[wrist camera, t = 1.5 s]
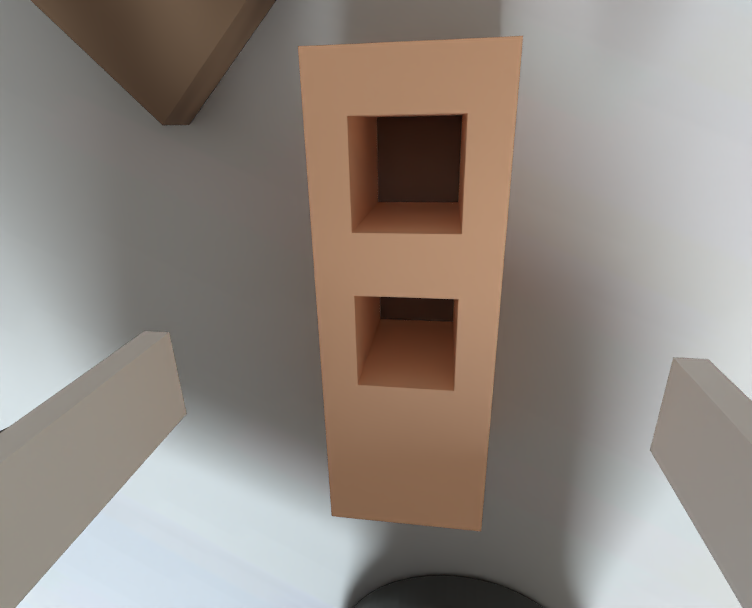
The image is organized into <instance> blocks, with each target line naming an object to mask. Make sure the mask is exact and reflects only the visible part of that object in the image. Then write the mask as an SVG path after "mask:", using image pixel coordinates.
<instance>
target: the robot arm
mask: <svg viewBox="0 0 752 608" xmlns="http://www.w3.org/2000/svg"><path fill="white" fill-rule="evenodd" d="M186 414H187V413H186V408H185V404H184V399H183V394H182V390H181V385H180V380H179V376H178V371H177V366H176V361H175V357H174V352H173V347H172V343H171V338H170V333H169V332H155V331H144V332H142V333H141V334H139V335H138V336H137V337H135V338H134V339H132V340H131V341H130V342H128V343H127V344H125V345H124V346H123V347H121V348H120V349H118V350H117V351H115V352H114V353H113V354H111V355H110V356H108V357H107V358H106V359H104V360H103V361H101V362H100V363H99V364H97V365H96V366H94V367H93V368H91V369H90V370H89V371H87V372H86V373H84V374H83V375H82V376H80V377H79V378H77V379H76V380H75V381H73V382H72V383H70V384H69V385H67V386H66V387H65V388H63V389H62V390H60V391H59V392H58V393H56V394H55V395H53V396H52V397H50V398H49V399H48V400H46V401H45V402H43V403H42V404H41V405H39V406H38V407H36V408H35V409H34V410H32V411H31V412H29V413H28V414H26V415H25V416H24V417H22V418H21V419H19V420H18V421H17V422H15V423H14V424H12V425H11V426H10V427H7V428H5V429H3V430H1V431H0V608H15V607H16V606H17V605H18V604H19V603H20V602H21V601H22V600H23V598H24V597H25V596H26V595H27V594H28V593H29V592H30V590H31V589H32V588H33V587H34V586H35V585H36V584H37V583H38V581H39V580H40V579H41V578H42V577H43V576H44V575H45V574H46V572H47V571H48V570H49V569H50V568H51V567H52V566H53V564H54V563H55V562H56V561H57V560H58V559H59V558H60V557H61V555H62V554H63V553H64V552H65V551H66V550H67V549H68V547H69V546H70V545H71V544H72V543H73V542H74V541H75V540H76V538H77V537H78V536H79V535H80V534H81V533H82V532H83V531H84V529H85V528H86V527H87V526H88V525H89V524H90V523H91V521H92V520H93V519H94V518H95V517H96V516H97V515H98V514H99V512H100V511H101V510H102V509H103V508H104V507H105V506H106V504H107V503H108V502H109V501H110V500H111V499H112V498H113V497H114V495H115V494H116V493H117V492H118V491H119V490H120V489H121V488H122V486H123V485H124V484H125V483H126V482H127V481H128V480H129V478H130V477H131V476H132V475H133V474H134V473H135V472H136V471H137V469H138V468H139V467H140V466H141V465H142V464H143V463H144V461H145V460H146V459H147V458H148V457H149V456H150V455H151V454H152V452H153V451H154V450H155V449H156V448H157V447H158V446H159V445H160V443H161V442H162V441H163V440H164V439H165V438H166V437H167V435H168V434H169V433H170V432H171V431H172V430H173V429H174V428H175V426H176V425H177V424H178V423H179V422H180V421H181V420H182V418H183V417H184V416H185V415H186ZM650 451H651V452H652V454H653V456H654V458H655V459H656V461H657V463H658V464H659V466H660V468H661V470H662V471H663V473H664V475H665V476H666V478H667V480H668V481H669V483H670V485H671V487H672V488H673V490H674V492H675V493H676V495H677V497H678V499H679V500H680V502H681V504H682V505H683V507H684V509H685V510H686V512H687V514H688V516H689V517H690V519H691V521H692V522H693V524H694V526H695V527H696V529H697V531H698V533H699V534H700V536H701V538H702V539H703V541H704V543H705V545H706V546H707V548H708V550H709V551H710V553H711V555H712V556H713V558H714V560H715V562H716V563H717V565H718V567H719V568H720V570H721V572H722V574H723V575H724V577H725V579H726V580H727V582H728V584H729V585H730V587H731V589H732V591H733V592H734V594H735V596H736V597H737V599H738V601H739V602H740V604H741V606H742V608H752V401H751V400H750V399H749V398H748V397H747V396H746V395H745V394H744V393H743V392H742V391H741V390H740V389H739V388H738V387H737V386H736V385H735V384H734V383H732V382H731V381H730V380H729V379H728V378H727V377H726V376H725V375H724V374H723V373H722V372H721V371H720V370H719V369H718V368H717V367H716V366H715V365H714V364H713V363H712V362H711V361H710V360H709V359H694V358H674V357H673V361H672V365H671V369H670V373H669V377H668V381H667V385H666V389H665V393H664V397H663V400H662V404H661V408H660V412H659V416H658V420H657V424H656V428H655V432H654V436H653V440H652V444H651V448H650ZM354 608H542V607H541V606H540V605H538V604H537V603H535V602H534V601H532V600H530V599H529V598H527V597H525V596H523V595H521V594H519V593H517V592H515V591H512V590H510V589H507V588H505V587H502V586H499V585H496V584H493V583H489V582H486V581H481V580H477V579H471V578H465V577H457V576H424V577H416V578H409V579H405V580H401V581H397V582H394V583H391V584H388V585H385V586H383V587H381V588H379V589H377V590H375V591H373V592H372V593H370V594H368V595H367V596H366V597H364V598H363V599H362V600H361V601H359V602H358V603H357V604H356V605H355V607H354Z"/></svg>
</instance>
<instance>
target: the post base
mask: <svg viewBox="0 0 752 608" xmlns="http://www.w3.org/2000/svg"><path fill="white" fill-rule="evenodd" d="M31 1H32V2H33V3H34V4H35V5H36V6H37V7H38V8H39V9H40V10H41V11H42V12H43V13H45V14H46V15H47V16H48V17H49V18H50V19H51V20H52V21H53V22H54V23H55V24H56V25H57V26H58V27H59V28H60V29H61V30H63V31H64V32H65V33H66V34H67V35H68V36H69V37H70V38H71V39H72V40H73V41H74V42H75V43H76V44H77V45H78V46H79V47H80V48H82V49H83V50H84V51H85V52H86V53H87V54H88V55H89V56H90V57H91V58H92V59H93V60H94V61H95V62H96V63H97V64H98V65H100V66H101V67H102V68H103V69H104V70H105V71H106V72H107V73H108V74H109V75H110V76H111V77H112V78H113V79H114V80H115V81H116V82H118V83H119V84H120V85H121V86H122V87H123V88H124V89H125V90H126V91H127V92H128V93H129V94H130V95H131V96H132V97H133V98H134V99H136V100H137V101H138V102H139V103H140V104H141V105H142V106H143V107H144V108H145V109H146V110H147V111H148V112H149V113H150V114H151V115H152V116H153V117H155V118H156V119H157V120H158V121H159V122H160V123H161V124H162V125H189V124H190V123H191V121H192V120H193V119H194V117H195V116H196V114H197V113H198V111H199V110H200V108H201V107H202V106H203V104H204V103H205V101H206V100H207V98H208V97H209V96H210V94H211V93H212V91H213V90H214V88H215V87H216V86H217V84H218V83H219V81H220V80H221V78H222V77H223V76H224V74H225V73H226V71H227V70H228V68H229V67H230V66H231V64H232V63H233V61H234V60H235V58H236V57H237V56H238V54H239V53H240V51H241V50H242V48H243V47H244V46H245V44H246V43H247V41H248V40H249V38H250V37H251V36H252V34H253V33H254V31H255V30H256V28H257V27H258V25H259V24H260V23H261V21H262V20H263V18H264V17H265V15H266V14H267V13H268V11H269V10H270V8H271V7H272V5H273V4H274V3H275V1H276V0H31Z"/></svg>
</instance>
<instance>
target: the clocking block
mask: <svg viewBox="0 0 752 608" xmlns="http://www.w3.org/2000/svg"><path fill="white" fill-rule="evenodd" d="M522 41H523V36H510V37H489V38H467V39H445V40H424V41H402V42H381V43H359V44H337V45H316V46H298V54H299V68H300V82H301V95H302V109H303V123H304V137H305V151H306V165H307V179H308V193H309V206H310V220H311V234H312V248H313V262H314V276H315V290H316V303H317V317H318V331H319V345H320V359H321V373H322V387H323V401H324V414H325V428H326V442H327V456H328V470H329V484H330V498H331V512H332V516H336V517H345V518H355V519H365V520H375V521H385V522H394V523H404V524H414V525H424V526H433V527H443V528H453V529H463V530H473V531H481V527H482V515H483V503H484V491H485V479H486V467H487V456H488V444H489V432H490V420H491V408H492V396H493V385H494V373H495V361H496V349H497V337H498V325H499V314H500V302H501V290H502V278H503V266H504V254H505V243H506V231H507V219H508V207H509V195H510V183H511V172H512V160H513V148H514V136H515V124H516V112H517V101H518V89H519V77H520V65H521V53H522ZM454 115H462V127H461V150H460V172H459V194H458V202H378V150H377V117H410V116H454ZM380 297H407V298H437V299H454V306H453V322H449V321H424V320H398V319H381V318H380Z"/></svg>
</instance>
